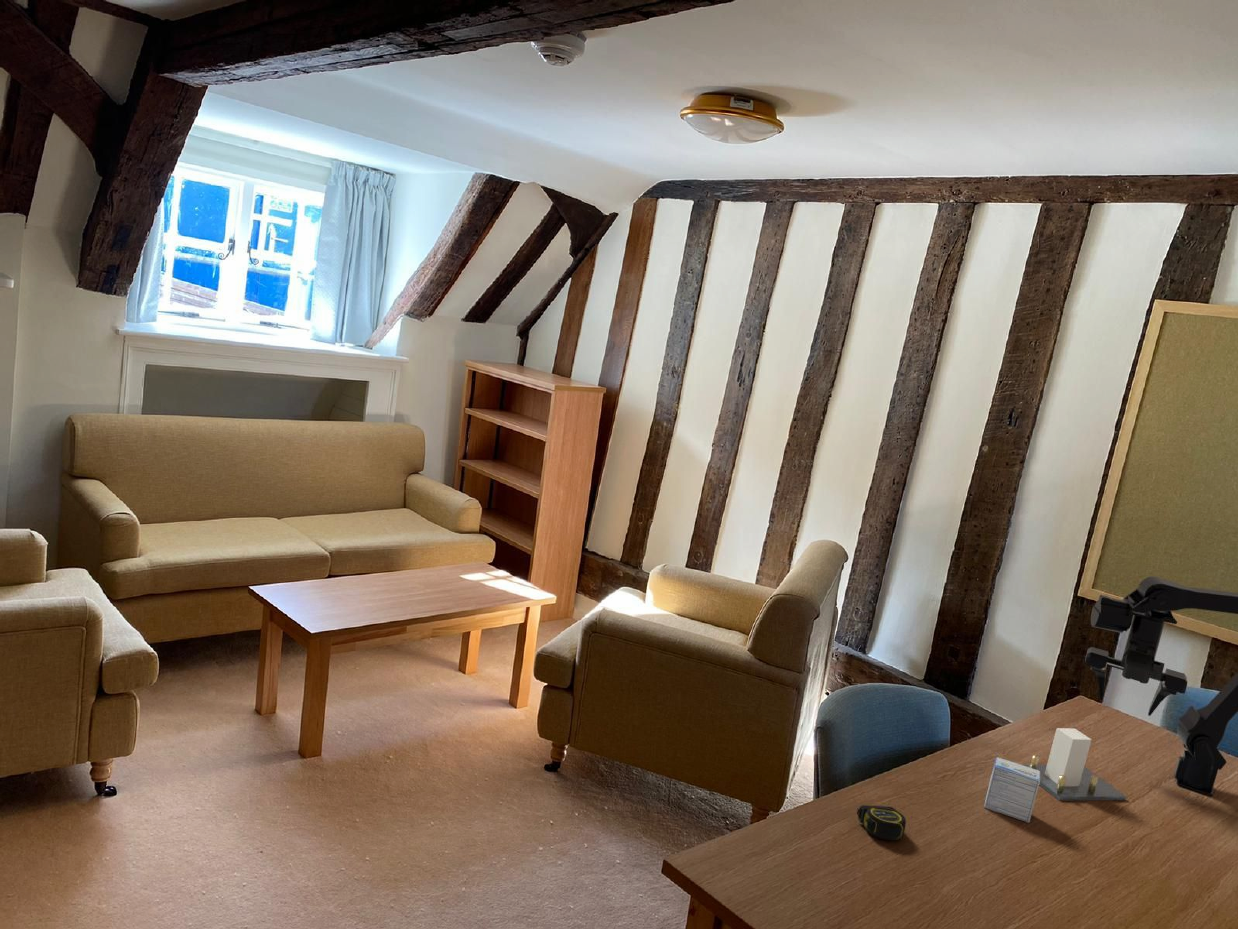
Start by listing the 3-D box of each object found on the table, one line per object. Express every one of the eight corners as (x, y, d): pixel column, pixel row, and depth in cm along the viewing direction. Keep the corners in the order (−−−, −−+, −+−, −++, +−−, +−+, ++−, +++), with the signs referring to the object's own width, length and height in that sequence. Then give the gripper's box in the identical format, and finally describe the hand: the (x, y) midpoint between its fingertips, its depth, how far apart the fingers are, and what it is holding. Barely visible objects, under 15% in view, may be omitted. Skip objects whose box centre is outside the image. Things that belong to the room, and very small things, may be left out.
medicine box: (1030, 813, 176) (1041, 770, 175) (1029, 824, 172) (1040, 780, 171) (985, 798, 180) (996, 756, 178) (983, 808, 176) (994, 765, 174)
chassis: (1081, 768, 200) (1085, 751, 199) (1125, 800, 188) (1130, 782, 188) (1017, 768, 195) (1022, 751, 194) (1059, 800, 183) (1064, 782, 183)
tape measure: (891, 823, 165) (895, 803, 165) (909, 846, 159) (914, 826, 158) (854, 820, 164) (859, 800, 163) (871, 844, 157) (876, 823, 157)
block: (1062, 774, 193) (1074, 728, 192) (1078, 786, 189) (1091, 739, 187) (1044, 774, 192) (1056, 728, 190) (1060, 786, 188) (1073, 739, 186)
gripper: (1093, 633, 196) (1074, 704, 199) (1197, 662, 187) (1175, 736, 190) (1095, 620, 205) (1077, 688, 208) (1194, 648, 197) (1174, 718, 200)
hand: (1124, 707), depth 201 cm, fingers open, 9 cm apart
